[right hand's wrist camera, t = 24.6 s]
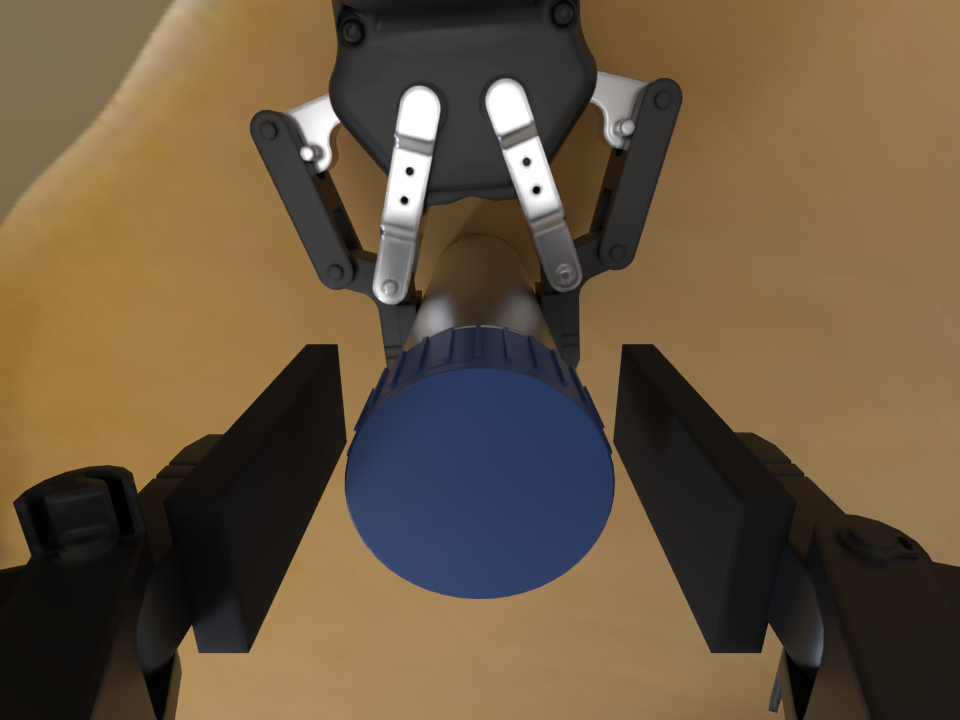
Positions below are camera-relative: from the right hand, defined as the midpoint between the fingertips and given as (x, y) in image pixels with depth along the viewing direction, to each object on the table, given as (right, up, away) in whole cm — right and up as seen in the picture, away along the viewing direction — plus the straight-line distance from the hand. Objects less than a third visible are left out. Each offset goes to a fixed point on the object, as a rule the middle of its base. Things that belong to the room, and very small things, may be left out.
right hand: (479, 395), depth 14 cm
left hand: (0, 0, +8) cm, 8 cm away
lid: (0, -1, -4) cm, 4 cm away
